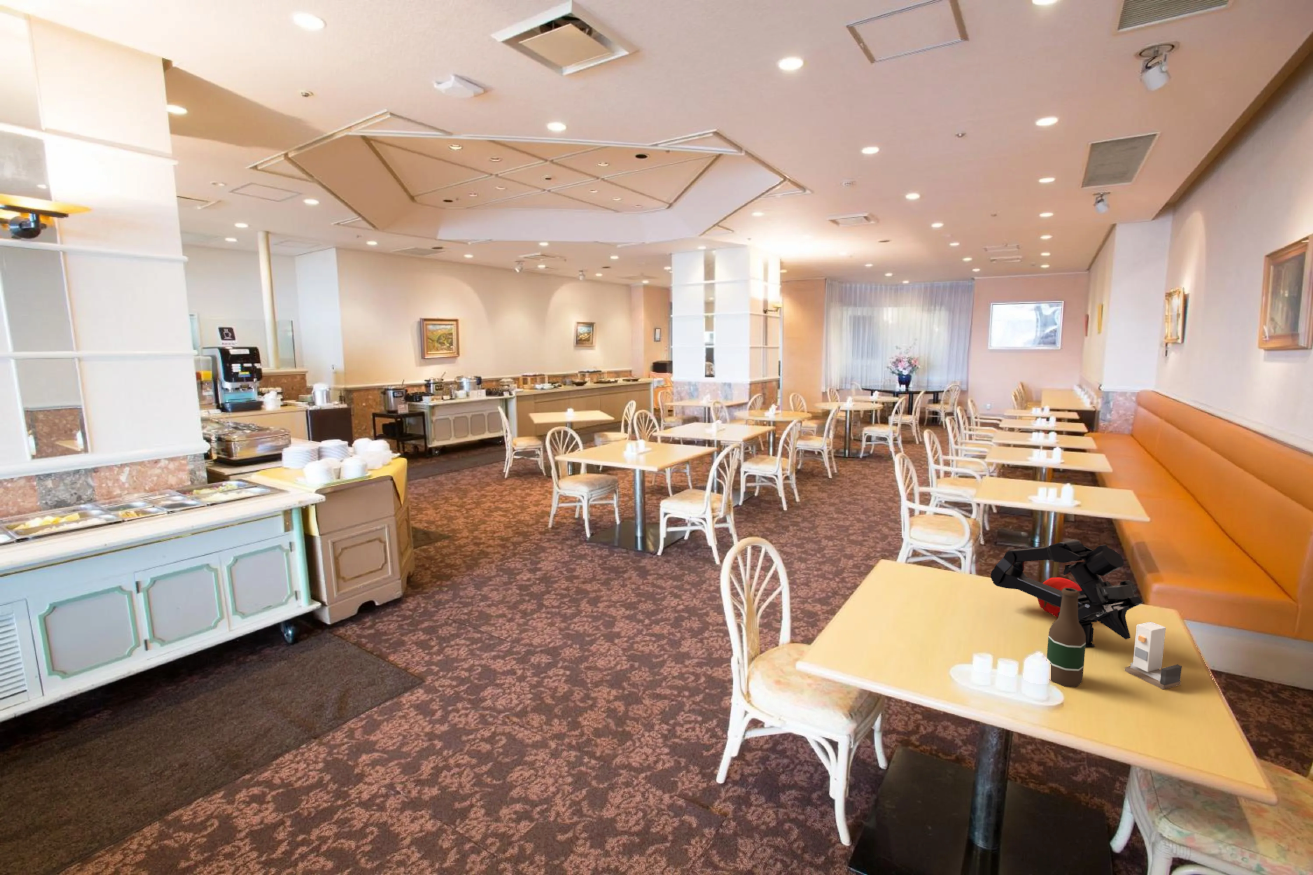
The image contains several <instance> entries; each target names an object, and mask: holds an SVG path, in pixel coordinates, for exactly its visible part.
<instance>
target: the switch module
mask: <svg viewBox="0 0 1313 875" xmlns="http://www.w3.org/2000/svg"><path fill="white" fill-rule="evenodd" d="M1135 628H1136V629H1135V630H1136V631H1135V637H1134V638H1135V639H1134V649H1133V658H1132V660H1133V661H1132V663H1133V665H1134V666H1136V667H1138V668H1140V669H1142V670H1144V671H1147V672H1149V671H1153V670H1157V669H1160V670H1161V669H1162V668H1163V667H1162V666H1163V656H1164V648H1165V640H1166V639H1165V637H1166V628H1167V627H1166V626H1164V625H1161V624H1158V623H1155V622H1153V621H1147V622H1144V623H1139V624H1136V627H1135Z"/></svg>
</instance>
